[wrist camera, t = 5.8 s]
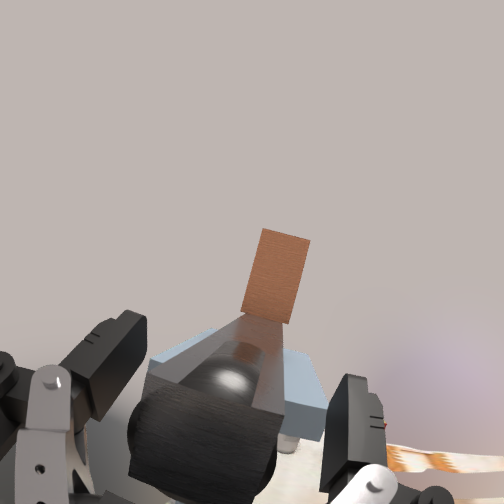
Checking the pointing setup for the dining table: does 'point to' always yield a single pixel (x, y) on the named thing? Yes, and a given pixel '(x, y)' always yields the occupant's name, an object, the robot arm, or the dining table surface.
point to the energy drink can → (287, 443)
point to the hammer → (222, 394)
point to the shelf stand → (295, 390)
